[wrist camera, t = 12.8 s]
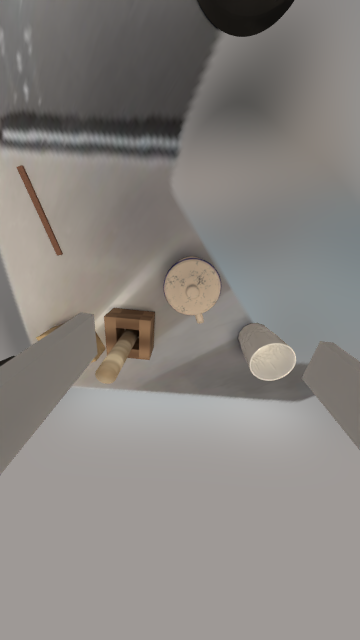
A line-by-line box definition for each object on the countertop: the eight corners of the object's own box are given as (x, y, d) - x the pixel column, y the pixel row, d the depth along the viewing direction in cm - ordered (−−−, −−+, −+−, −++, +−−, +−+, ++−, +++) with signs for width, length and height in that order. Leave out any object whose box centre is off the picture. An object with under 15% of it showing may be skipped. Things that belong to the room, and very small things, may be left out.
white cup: (244, 356, 43) (260, 386, 34) (229, 331, 40) (242, 356, 31) (276, 341, 41) (302, 368, 32) (262, 313, 39) (286, 335, 29)
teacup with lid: (163, 262, 35) (152, 269, 24) (208, 249, 34) (219, 251, 23) (178, 317, 40) (175, 344, 29) (219, 307, 38) (232, 332, 28)
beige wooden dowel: (128, 322, 40) (94, 366, 26) (141, 323, 40) (115, 368, 26) (128, 333, 42) (96, 382, 27) (141, 335, 42) (116, 384, 27)
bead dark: (113, 307, 39) (104, 316, 35) (154, 312, 39) (150, 320, 35) (115, 343, 43) (107, 355, 38) (153, 347, 43) (149, 359, 38)
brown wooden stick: (18, 167, 30) (16, 167, 30) (23, 166, 30) (21, 165, 30) (58, 255, 35) (57, 255, 35) (62, 254, 35) (61, 254, 35)
